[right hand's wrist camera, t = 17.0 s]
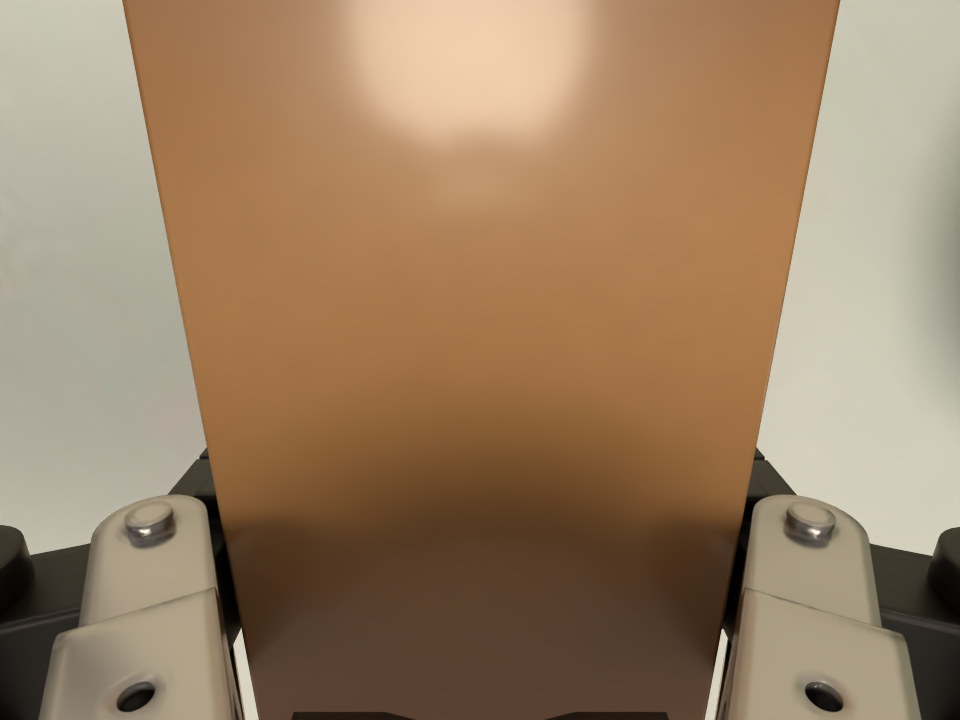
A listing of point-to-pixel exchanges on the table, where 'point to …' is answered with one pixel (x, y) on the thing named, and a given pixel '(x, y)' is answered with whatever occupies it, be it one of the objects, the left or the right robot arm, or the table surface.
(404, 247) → the box
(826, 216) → the table surface
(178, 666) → the right robot arm
